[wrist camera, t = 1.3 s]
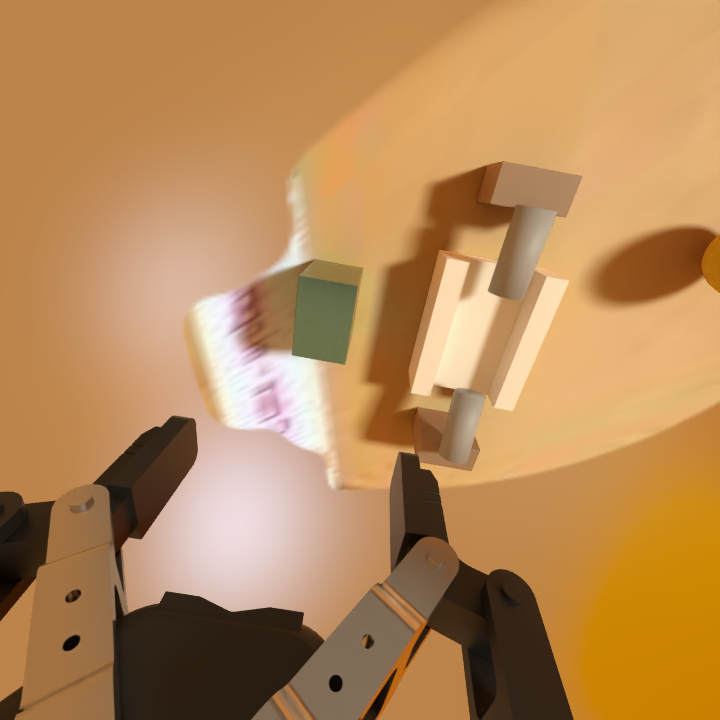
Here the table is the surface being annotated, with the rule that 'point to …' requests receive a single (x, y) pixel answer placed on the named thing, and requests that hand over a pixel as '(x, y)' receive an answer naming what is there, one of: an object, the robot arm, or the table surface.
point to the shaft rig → (488, 315)
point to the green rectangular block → (326, 311)
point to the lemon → (712, 264)
